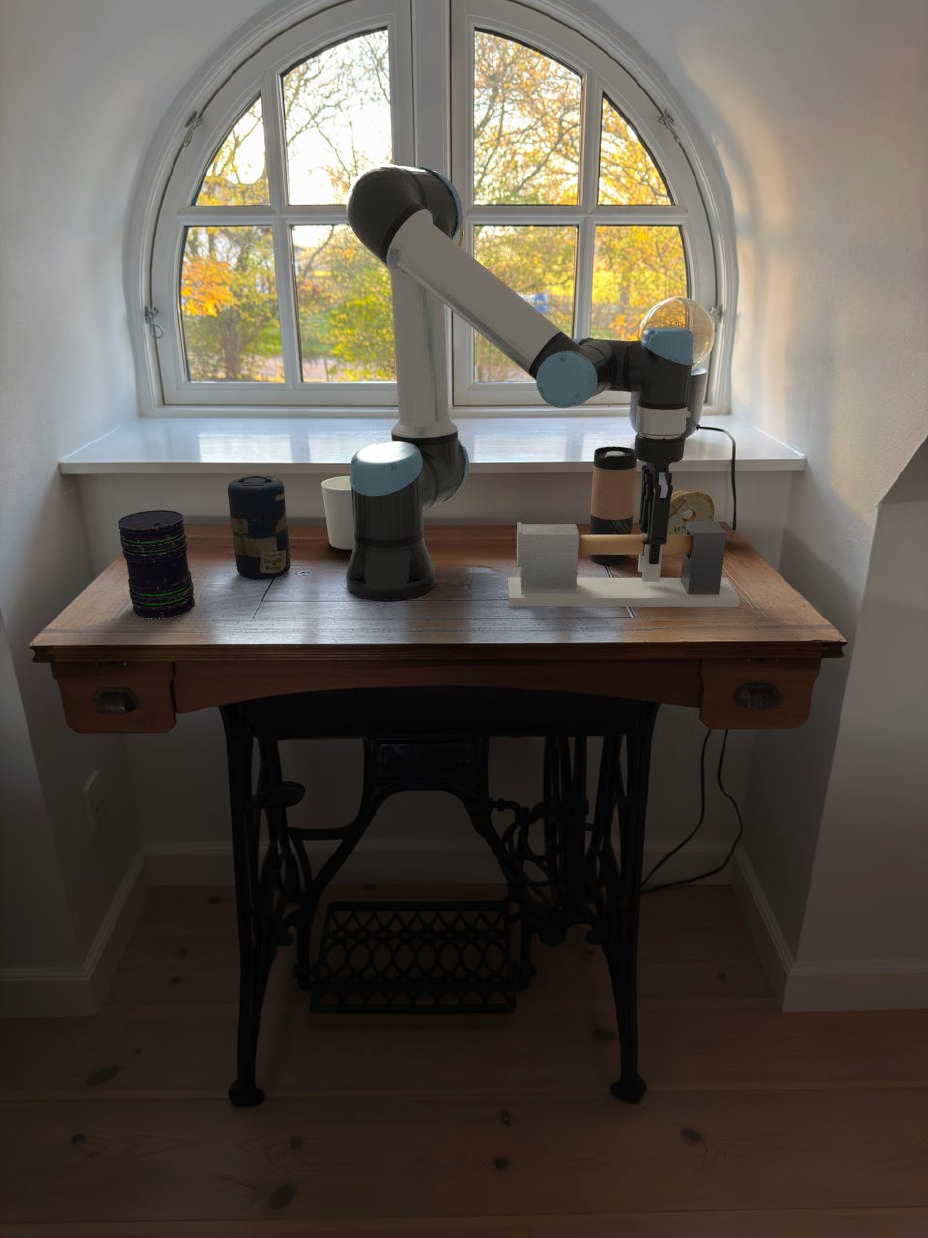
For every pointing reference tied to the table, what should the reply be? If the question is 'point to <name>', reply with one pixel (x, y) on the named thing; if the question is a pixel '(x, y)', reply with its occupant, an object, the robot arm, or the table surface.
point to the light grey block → (548, 558)
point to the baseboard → (624, 594)
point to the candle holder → (339, 511)
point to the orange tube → (631, 545)
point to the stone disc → (688, 501)
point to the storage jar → (157, 563)
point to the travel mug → (612, 497)
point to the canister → (259, 527)
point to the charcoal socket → (704, 558)
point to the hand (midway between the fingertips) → (648, 575)
